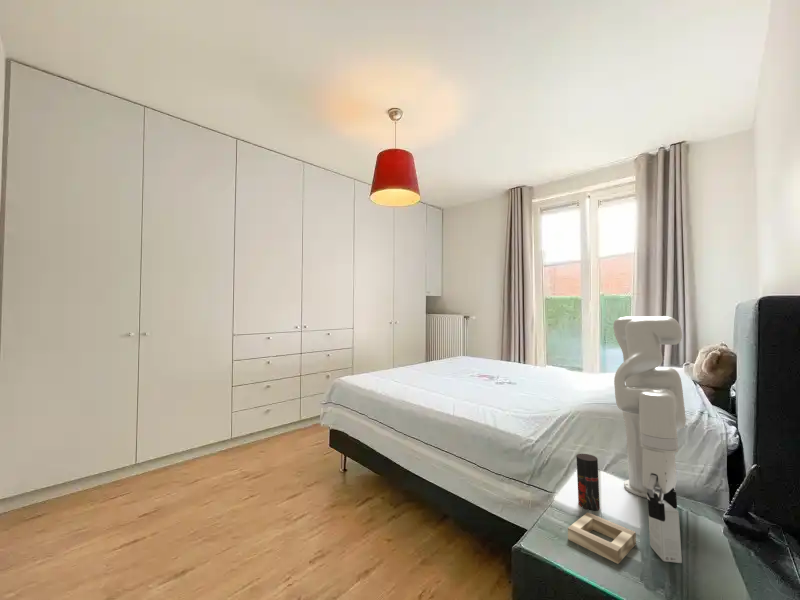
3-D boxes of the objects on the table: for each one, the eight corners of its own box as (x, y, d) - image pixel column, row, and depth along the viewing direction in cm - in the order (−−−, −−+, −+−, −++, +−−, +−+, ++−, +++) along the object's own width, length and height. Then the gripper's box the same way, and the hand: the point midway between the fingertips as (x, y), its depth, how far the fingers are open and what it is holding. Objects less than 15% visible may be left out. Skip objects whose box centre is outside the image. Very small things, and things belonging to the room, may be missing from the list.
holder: (588, 523, 98) (587, 512, 99) (636, 543, 89) (635, 532, 89) (568, 539, 91) (567, 527, 91) (618, 564, 82) (617, 551, 82)
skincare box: (682, 564, 82) (679, 512, 82) (663, 562, 82) (660, 510, 83) (667, 547, 88) (664, 499, 88) (649, 545, 88) (646, 498, 89)
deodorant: (602, 511, 104) (600, 461, 105) (581, 509, 105) (579, 460, 106) (595, 501, 110) (593, 454, 111) (576, 500, 111) (574, 453, 112)
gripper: (652, 432, 95) (656, 496, 93) (629, 444, 84) (633, 517, 83) (686, 439, 89) (691, 507, 87) (666, 453, 78) (671, 531, 77)
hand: (663, 512), depth 85 cm, fingers open, 9 cm apart
